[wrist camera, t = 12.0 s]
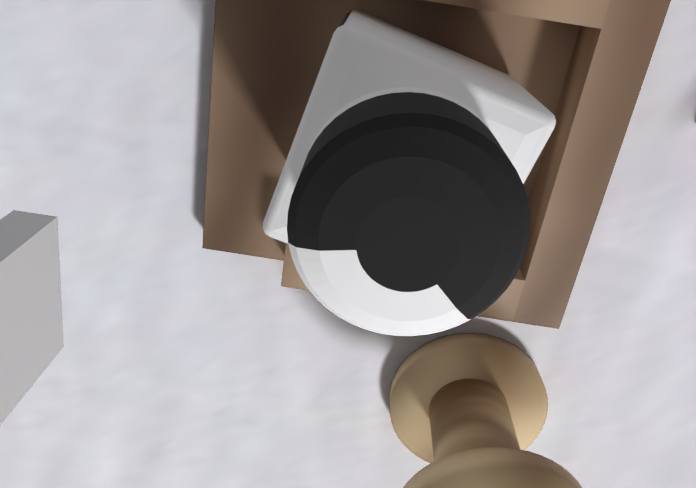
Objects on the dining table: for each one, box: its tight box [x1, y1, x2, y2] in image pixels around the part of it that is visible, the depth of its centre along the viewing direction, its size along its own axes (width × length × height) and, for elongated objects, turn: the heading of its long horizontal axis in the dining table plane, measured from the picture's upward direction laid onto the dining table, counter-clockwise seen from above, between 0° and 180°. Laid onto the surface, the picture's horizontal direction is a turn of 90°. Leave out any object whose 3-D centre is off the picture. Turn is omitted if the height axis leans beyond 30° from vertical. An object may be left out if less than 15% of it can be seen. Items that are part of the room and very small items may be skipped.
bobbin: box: [390, 333, 582, 488], centre depth 29 cm, size 8×8×9 cm
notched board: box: [203, 0, 671, 329], centre depth 25 cm, size 16×14×4 cm
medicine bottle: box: [263, 9, 556, 336], centre depth 20 cm, size 7×7×12 cm
